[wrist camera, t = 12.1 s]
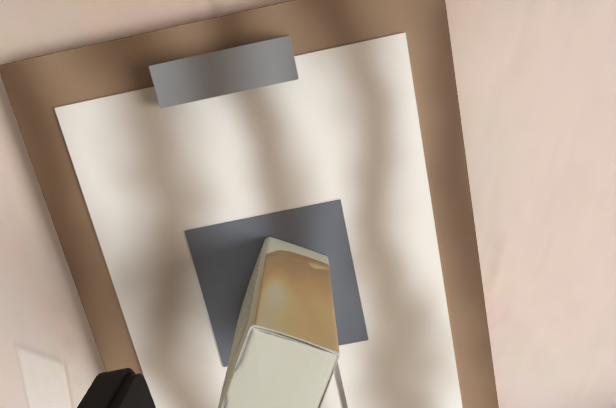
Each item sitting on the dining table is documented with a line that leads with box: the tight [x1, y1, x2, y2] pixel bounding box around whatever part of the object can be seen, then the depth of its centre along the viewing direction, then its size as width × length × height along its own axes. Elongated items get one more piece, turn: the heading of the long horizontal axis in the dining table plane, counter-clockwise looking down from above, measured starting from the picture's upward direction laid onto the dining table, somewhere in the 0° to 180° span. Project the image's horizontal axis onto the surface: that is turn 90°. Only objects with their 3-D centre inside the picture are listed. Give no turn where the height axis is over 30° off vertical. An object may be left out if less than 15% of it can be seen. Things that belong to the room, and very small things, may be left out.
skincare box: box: [218, 237, 340, 408], centre depth 32 cm, size 6×4×12 cm
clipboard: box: [0, 0, 499, 408], centre depth 38 cm, size 26×34×3 cm
